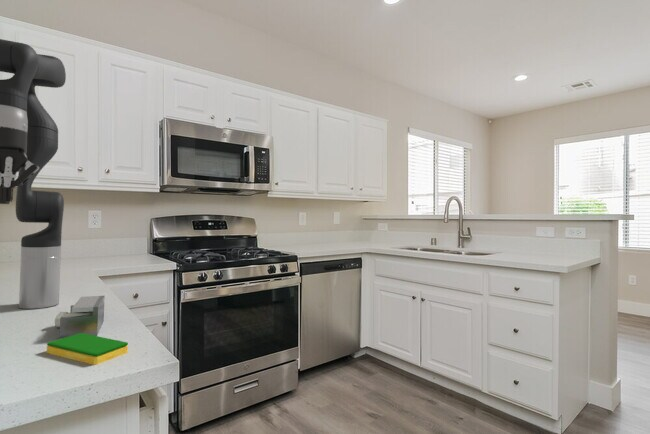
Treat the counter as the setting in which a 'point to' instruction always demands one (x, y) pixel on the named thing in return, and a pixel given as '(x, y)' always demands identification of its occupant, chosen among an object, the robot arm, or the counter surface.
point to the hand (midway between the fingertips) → (3, 203)
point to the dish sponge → (87, 348)
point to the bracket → (84, 317)
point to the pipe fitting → (66, 314)
